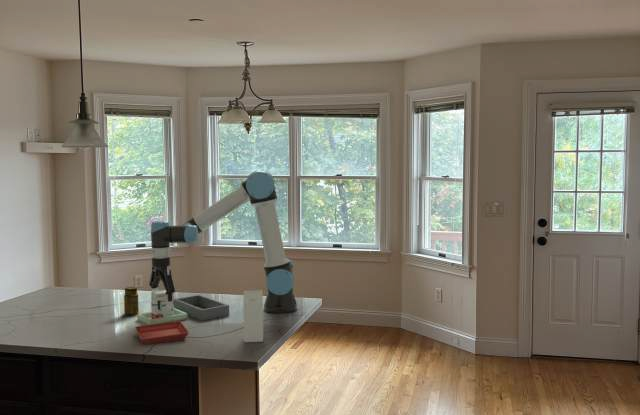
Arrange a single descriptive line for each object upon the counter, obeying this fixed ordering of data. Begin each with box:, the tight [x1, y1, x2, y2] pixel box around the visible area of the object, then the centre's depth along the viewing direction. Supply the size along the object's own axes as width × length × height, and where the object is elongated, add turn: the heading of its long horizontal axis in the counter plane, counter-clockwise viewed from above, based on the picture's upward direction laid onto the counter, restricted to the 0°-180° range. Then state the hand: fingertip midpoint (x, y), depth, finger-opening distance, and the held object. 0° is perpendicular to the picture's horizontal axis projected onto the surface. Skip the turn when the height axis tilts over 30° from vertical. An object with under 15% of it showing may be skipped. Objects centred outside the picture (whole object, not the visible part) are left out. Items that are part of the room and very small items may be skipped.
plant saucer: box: [134, 320, 190, 345], centre depth 231 cm, size 18×18×3 cm
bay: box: [174, 294, 230, 321], centre depth 269 cm, size 27×14×4 cm, turn 40°
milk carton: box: [242, 289, 264, 343], centre depth 226 cm, size 7×7×19 cm
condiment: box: [122, 286, 141, 318], centre depth 264 cm, size 7×8×12 cm
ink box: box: [150, 289, 175, 319], centre depth 255 cm, size 8×5×12 cm, turn 127°
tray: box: [136, 308, 189, 325], centre depth 256 cm, size 13×17×2 cm
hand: (162, 305), depth 256 cm, fingers open, 13 cm apart
